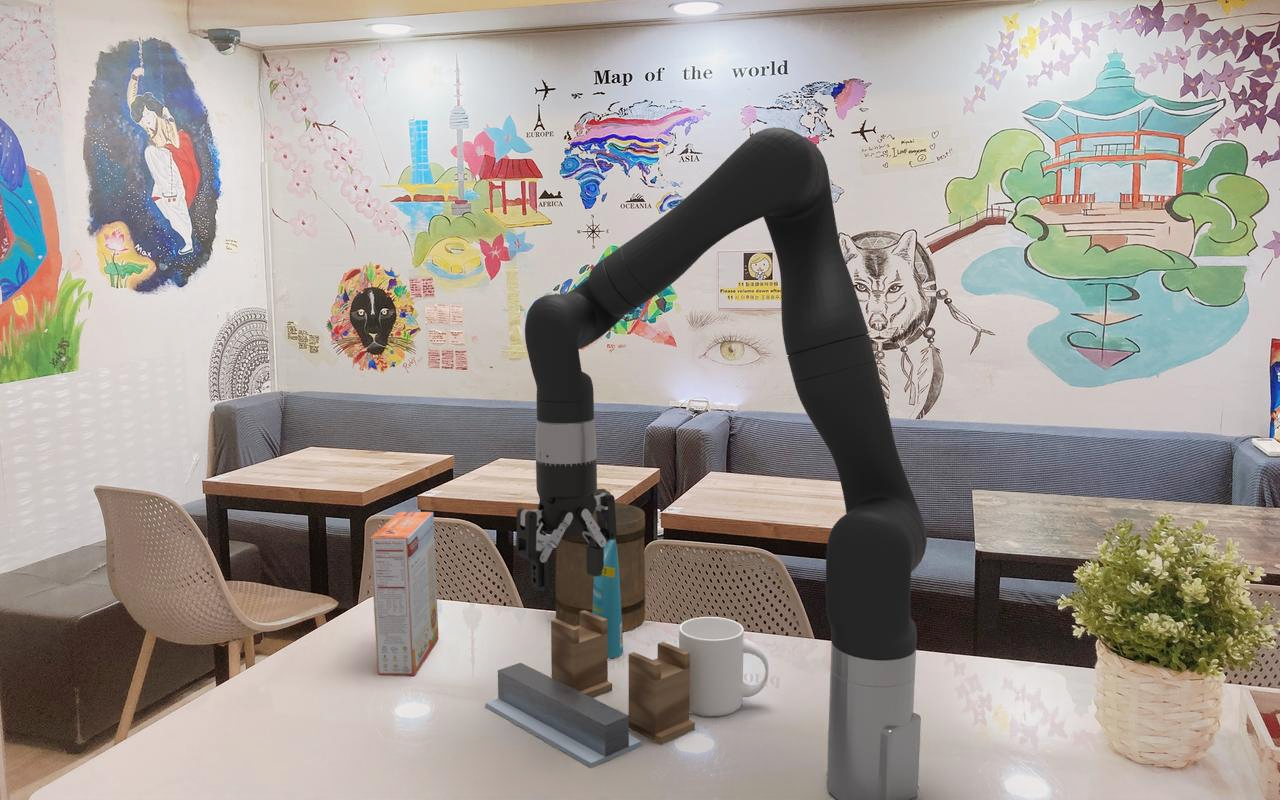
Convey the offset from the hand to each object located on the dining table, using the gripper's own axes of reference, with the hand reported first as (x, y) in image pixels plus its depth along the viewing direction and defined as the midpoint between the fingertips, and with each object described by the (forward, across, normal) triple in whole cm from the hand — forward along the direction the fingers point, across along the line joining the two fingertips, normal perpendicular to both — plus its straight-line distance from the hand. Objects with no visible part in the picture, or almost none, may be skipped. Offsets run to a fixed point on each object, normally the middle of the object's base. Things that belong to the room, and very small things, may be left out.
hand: (568, 582), depth 128 cm
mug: (+20, +19, -9) cm, 29 cm away
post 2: (+19, +8, -8) cm, 22 cm away
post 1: (+19, +8, +8) cm, 22 cm away
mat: (+19, -1, +1) cm, 19 cm away
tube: (+19, +19, +15) cm, 31 cm away
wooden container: (+19, +28, +27) cm, 43 cm away
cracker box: (+19, -4, +34) cm, 39 cm away
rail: (+19, -1, +1) cm, 19 cm away
